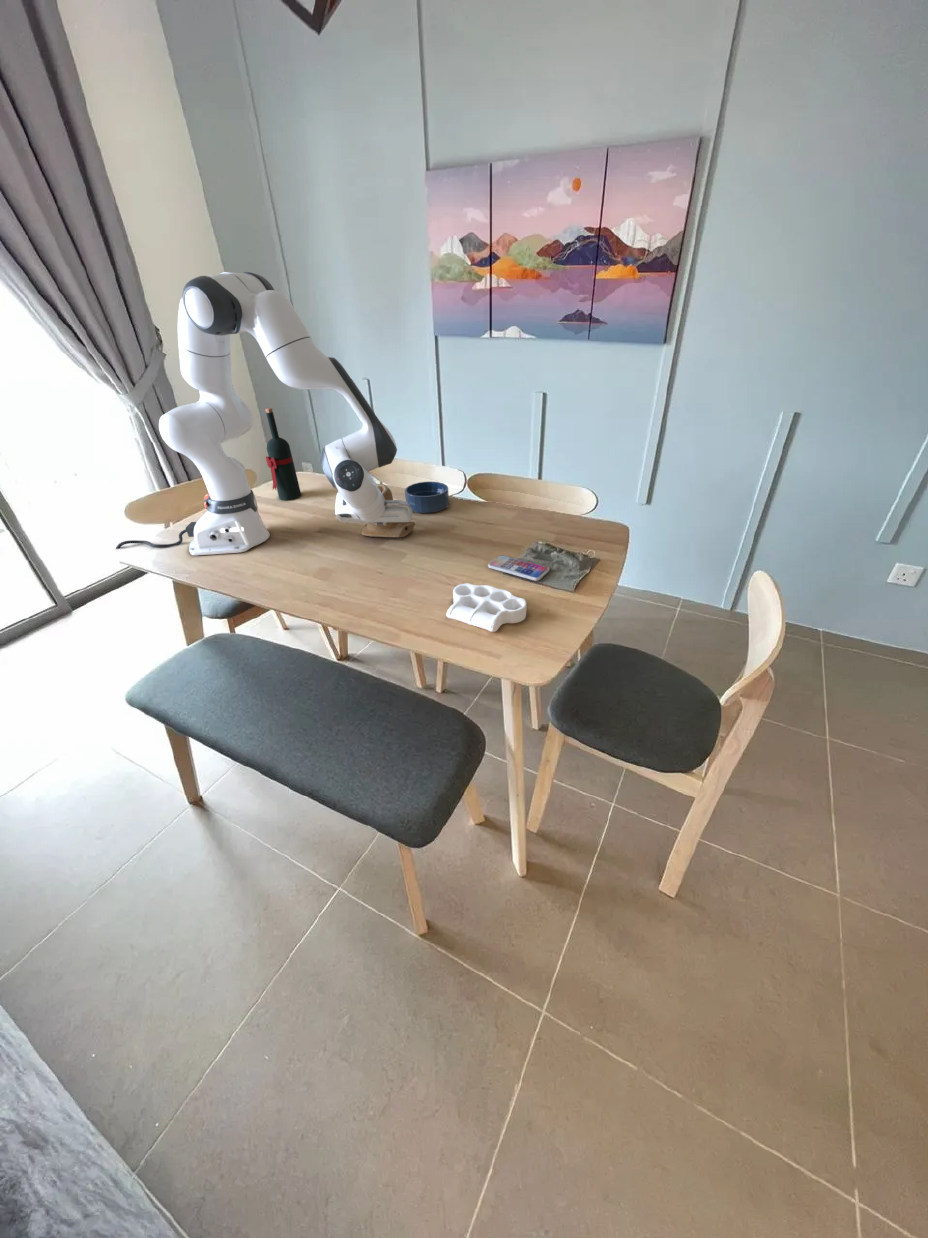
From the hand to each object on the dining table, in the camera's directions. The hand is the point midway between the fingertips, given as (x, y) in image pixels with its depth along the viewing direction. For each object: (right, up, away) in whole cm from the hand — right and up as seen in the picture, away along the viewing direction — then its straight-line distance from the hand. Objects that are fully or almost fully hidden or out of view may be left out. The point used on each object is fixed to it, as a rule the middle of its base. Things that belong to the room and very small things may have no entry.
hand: (381, 523), depth 141 cm
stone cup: (0, -2, +7) cm, 8 cm away
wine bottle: (-40, +16, +37) cm, 56 cm away
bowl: (+12, +11, +25) cm, 29 cm away
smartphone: (+38, -15, -13) cm, 43 cm away
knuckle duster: (+29, -26, -29) cm, 48 cm away
